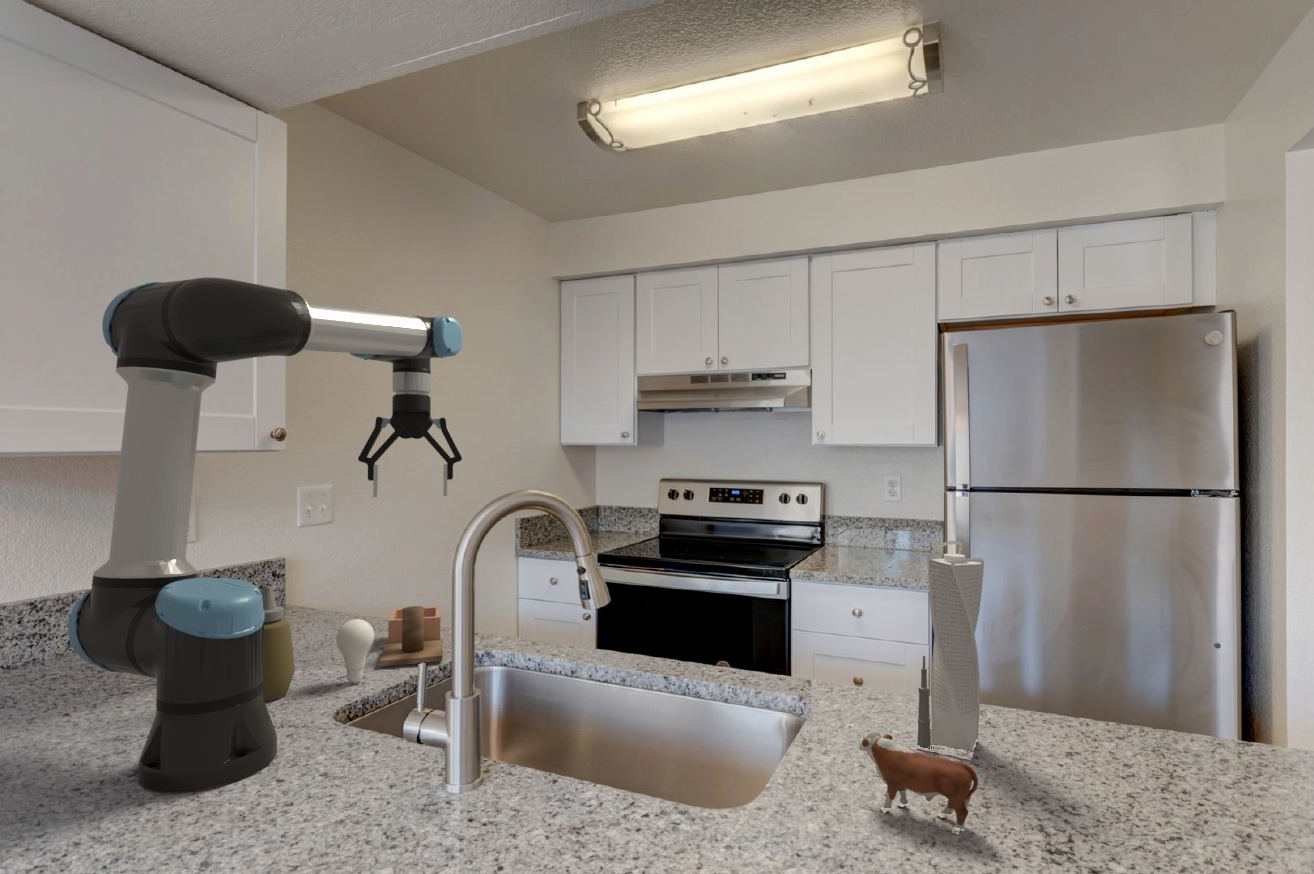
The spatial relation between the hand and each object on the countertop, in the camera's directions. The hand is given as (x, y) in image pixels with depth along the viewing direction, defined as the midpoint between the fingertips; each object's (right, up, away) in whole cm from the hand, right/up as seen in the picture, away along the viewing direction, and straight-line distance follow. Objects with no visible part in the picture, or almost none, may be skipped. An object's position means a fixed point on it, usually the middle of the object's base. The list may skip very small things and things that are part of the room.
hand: (411, 496), depth 145 cm
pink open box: (0, -31, +1) cm, 31 cm away
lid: (+4, -30, -10) cm, 32 cm away
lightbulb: (-1, -31, -24) cm, 39 cm away
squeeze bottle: (-13, -31, -30) cm, 45 cm away
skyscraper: (+93, -31, -48) cm, 108 cm away
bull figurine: (+80, -31, -66) cm, 108 cm away
